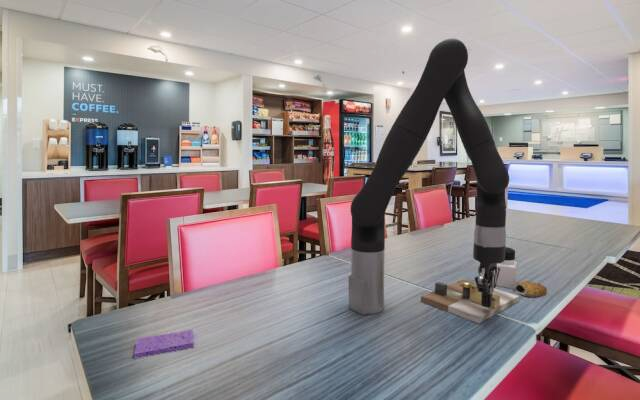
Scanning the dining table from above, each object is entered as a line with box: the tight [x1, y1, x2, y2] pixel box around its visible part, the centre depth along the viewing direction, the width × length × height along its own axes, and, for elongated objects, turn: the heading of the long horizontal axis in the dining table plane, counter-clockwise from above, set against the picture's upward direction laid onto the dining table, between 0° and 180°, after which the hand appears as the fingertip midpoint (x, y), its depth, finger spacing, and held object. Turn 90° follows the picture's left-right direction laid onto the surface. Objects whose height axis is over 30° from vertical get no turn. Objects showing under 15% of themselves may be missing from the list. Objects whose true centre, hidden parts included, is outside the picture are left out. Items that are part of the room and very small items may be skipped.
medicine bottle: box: [496, 246, 518, 289], centre depth 122 cm, size 7×7×12 cm
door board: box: [420, 280, 520, 324], centre depth 108 cm, size 22×18×5 cm
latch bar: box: [459, 279, 500, 308], centre depth 104 cm, size 11×4×4 cm, turn 38°
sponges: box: [133, 329, 195, 358], centre depth 86 cm, size 7×13×2 cm, turn 110°
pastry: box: [512, 280, 548, 298], centre depth 114 cm, size 9×7×4 cm
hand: (486, 305), depth 98 cm, fingers closed
